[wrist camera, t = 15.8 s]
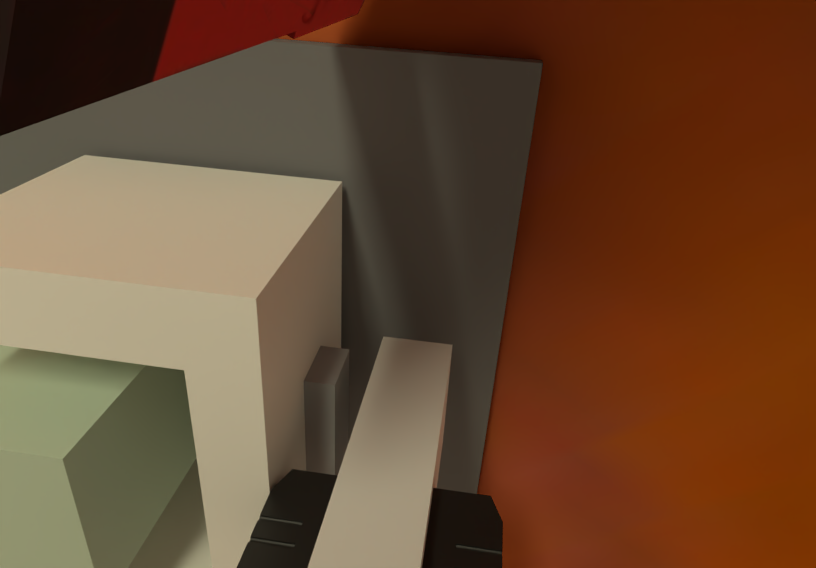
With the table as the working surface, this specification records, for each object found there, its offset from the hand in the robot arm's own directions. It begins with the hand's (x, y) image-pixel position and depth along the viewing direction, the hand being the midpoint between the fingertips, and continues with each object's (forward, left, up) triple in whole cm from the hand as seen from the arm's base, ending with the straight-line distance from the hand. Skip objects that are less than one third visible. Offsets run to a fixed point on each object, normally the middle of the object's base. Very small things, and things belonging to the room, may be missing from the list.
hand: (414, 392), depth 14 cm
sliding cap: (0, -4, -1) cm, 5 cm away
